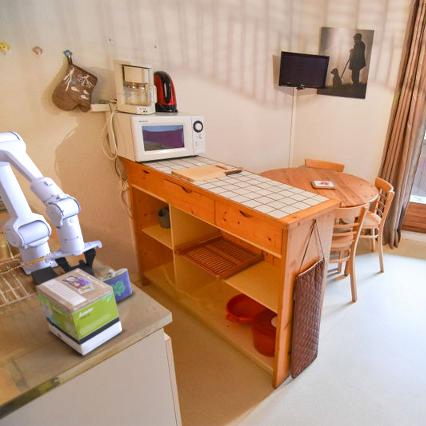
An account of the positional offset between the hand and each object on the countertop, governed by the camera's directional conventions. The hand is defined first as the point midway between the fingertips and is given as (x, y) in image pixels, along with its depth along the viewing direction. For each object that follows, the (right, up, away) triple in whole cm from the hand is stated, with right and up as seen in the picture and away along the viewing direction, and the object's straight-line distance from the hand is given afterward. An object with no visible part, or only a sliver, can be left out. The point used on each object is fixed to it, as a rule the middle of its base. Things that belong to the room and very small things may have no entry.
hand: (79, 273), depth 103 cm
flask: (+17, -7, -8) cm, 20 cm away
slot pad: (0, -1, +1) cm, 1 cm away
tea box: (+17, -12, -20) cm, 29 cm away
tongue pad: (-6, -3, -5) cm, 8 cm away
